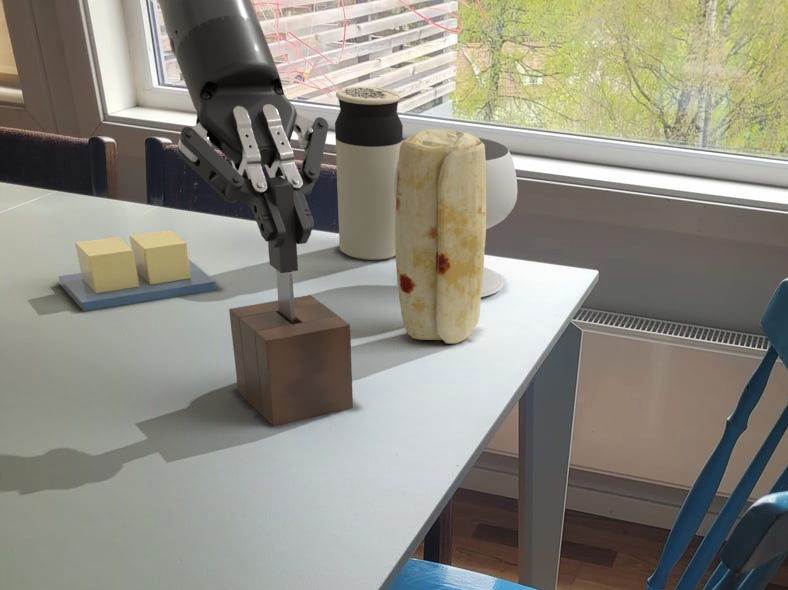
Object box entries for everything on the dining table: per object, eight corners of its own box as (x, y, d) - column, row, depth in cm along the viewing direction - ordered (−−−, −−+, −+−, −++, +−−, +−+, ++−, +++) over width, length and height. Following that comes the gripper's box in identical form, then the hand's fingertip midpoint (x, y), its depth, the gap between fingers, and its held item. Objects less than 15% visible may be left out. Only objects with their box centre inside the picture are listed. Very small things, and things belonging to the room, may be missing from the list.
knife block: (273, 427, 89) (265, 340, 84) (238, 392, 94) (228, 308, 89) (353, 408, 92) (350, 324, 87) (315, 375, 97) (310, 294, 92)
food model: (464, 318, 111) (472, 120, 98) (494, 340, 106) (506, 136, 94) (385, 331, 107) (382, 127, 94) (412, 355, 102) (413, 143, 90)
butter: (83, 311, 107) (74, 264, 104) (60, 285, 113) (50, 239, 109) (216, 290, 114) (211, 245, 111) (187, 265, 119) (182, 222, 116)
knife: (289, 384, 90) (275, 186, 80) (277, 373, 92) (262, 178, 81) (305, 381, 91) (294, 184, 80) (292, 370, 93) (280, 176, 82)
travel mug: (353, 264, 122) (349, 101, 111) (330, 244, 128) (323, 87, 117) (412, 257, 126) (413, 98, 114) (387, 238, 131) (386, 84, 120)
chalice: (392, 263, 124) (391, 130, 114) (503, 264, 125) (511, 134, 116) (396, 304, 113) (395, 162, 103) (517, 306, 114) (528, 166, 105)
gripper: (143, 14, 76) (223, 226, 76) (307, 10, 82) (380, 206, 82) (132, 79, 82) (205, 274, 82) (284, 71, 89) (352, 253, 89)
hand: (292, 240), depth 82 cm, fingers closed on knife, 1 cm apart
